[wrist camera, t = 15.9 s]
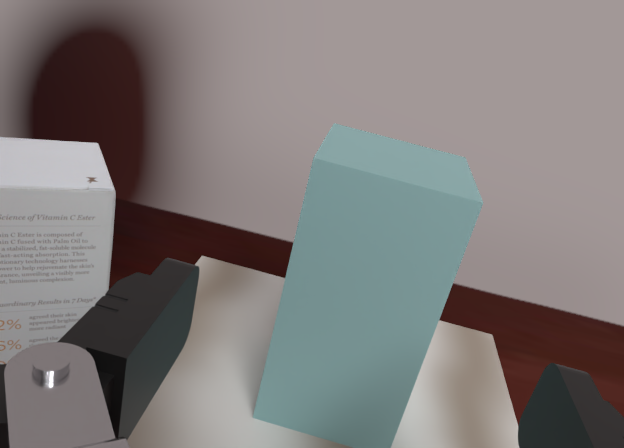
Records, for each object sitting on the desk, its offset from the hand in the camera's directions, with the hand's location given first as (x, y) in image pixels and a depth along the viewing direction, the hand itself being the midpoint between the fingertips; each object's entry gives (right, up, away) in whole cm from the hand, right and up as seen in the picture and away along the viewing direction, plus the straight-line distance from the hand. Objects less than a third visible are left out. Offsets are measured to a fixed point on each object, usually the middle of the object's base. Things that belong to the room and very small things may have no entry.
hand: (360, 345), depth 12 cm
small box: (-16, -4, +14) cm, 22 cm away
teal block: (0, -4, +10) cm, 10 cm away
